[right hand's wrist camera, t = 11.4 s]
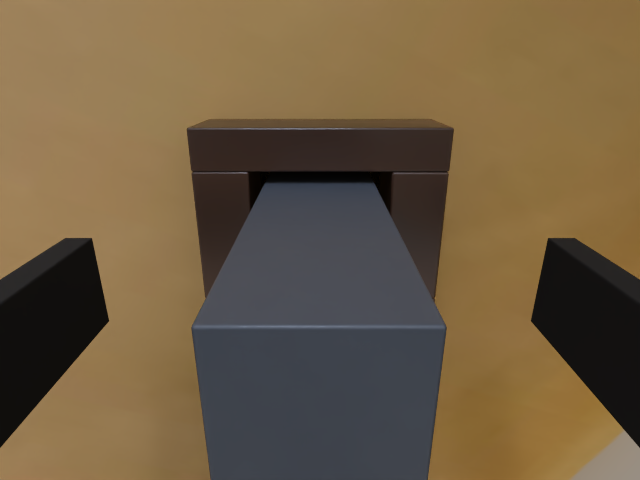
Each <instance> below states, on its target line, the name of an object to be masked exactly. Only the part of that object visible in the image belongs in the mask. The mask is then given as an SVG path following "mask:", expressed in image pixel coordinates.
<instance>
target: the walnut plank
mask: <svg viewBox="0 0 640 480" xmlns="http://www.w3.org/2000/svg"><path fill="white" fill-rule="evenodd" d="M453 132H454V129H453V128H452V127H449V126H447V125H444V124H442V123H439V122H437V121H434V120H432V119H209V120H206V121H204V122H201V123H199V124H196V125H194V126H191V127H189V128H187V136H188V145H189V154H190V163H191V170H192V171H193V172H192V181H193V190H194V199H195V208H196V217H197V226H198V235H199V244H200V254H201V263H202V272H203V281H204V290H205V297H207V296H208V294H209V292H210V290H211V288H212V286H213V284H214V282H215V280H216V278H217V276H218V274H219V272H220V270H221V268H222V266H223V264H224V262H225V260H226V258H227V256H228V254H229V252H230V250H231V248H232V246H233V245H234V243H235V241H236V239H237V237H238V235H239V233H240V231H241V229H242V227H243V225H244V223H245V221H246V219H247V217H248V215H249V213H250V211H251V209H252V207H253V205H254V203H255V201H256V199H257V197H258V195H259V193H260V192H261V175H260V172H380V186H379V194H380V196H381V198H382V200H383V202H384V204H385V206H386V208H387V210H388V212H389V214H390V216H391V218H392V219H393V221H394V223H395V225H396V227H397V229H398V231H399V233H400V235H401V237H402V239H403V241H404V243H405V245H406V247H407V249H408V251H409V253H410V255H411V257H412V259H413V261H414V263H415V265H416V267H417V269H418V271H419V273H420V275H421V277H422V279H423V281H424V283H425V285H426V287H427V289H428V291H429V293H430V295H431V297H432V299H433V301H434V302H435V299H434V297H435V293H436V284H437V274H438V265H439V256H440V247H441V238H442V229H443V220H444V211H445V202H446V193H447V184H448V175H449V174H448V171H449V168H450V159H451V150H452V141H453Z"/></svg>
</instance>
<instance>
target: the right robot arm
mask: <svg viewBox="0 0 640 480" xmlns="http://www.w3.org/2000/svg"><path fill="white" fill-rule="evenodd" d="M108 322H109V318H108V314H107V309H106V304H105V299H104V294H103V290H102V285H101V280H100V275H99V270H98V265H97V261H96V256H95V251H94V246H93V241H92V238H65V239H63V240H62V241H60V242H59V243H57V244H55V245H54V246H52V247H51V248H49V249H48V250H46V251H44V252H43V253H41V254H40V255H38V256H37V257H35V258H33V259H32V260H30V261H29V262H27V263H26V264H24V265H23V266H21V267H19V268H18V269H16V270H15V271H13V272H12V273H10V274H8V275H7V276H5V277H4V278H2V279H1V280H0V447H1V446H2V445H3V444H4V443H5V442H6V440H7V439H8V438H9V437H10V436H11V435H12V433H13V432H14V431H15V430H16V429H17V428H18V426H19V425H20V424H21V423H22V422H23V421H24V419H25V418H26V417H27V416H28V415H29V414H30V412H31V411H32V410H33V409H34V408H35V407H36V405H37V404H38V403H39V402H40V401H41V400H42V398H43V397H44V396H45V395H46V394H47V393H48V391H49V390H50V389H51V388H52V387H53V386H54V384H55V383H56V382H57V381H58V380H59V379H60V378H61V376H62V375H63V374H64V373H65V372H66V371H67V369H68V368H69V367H70V366H71V365H72V364H73V362H74V361H75V360H76V359H77V358H78V357H79V355H80V354H81V353H82V352H83V351H84V350H85V348H86V347H87V346H88V345H89V344H90V343H91V341H92V340H93V339H94V338H95V337H96V336H97V334H98V333H99V332H100V331H101V330H102V329H103V327H104V326H105V325H106V324H107V323H108ZM531 322H532V323H533V324H534V325H535V326H536V327H537V329H538V330H539V331H540V332H541V333H542V334H543V336H544V337H545V338H546V339H547V340H548V341H549V343H550V344H551V345H552V346H553V347H554V348H555V350H556V351H557V352H558V353H559V354H560V355H561V357H562V358H563V359H564V360H565V361H566V362H567V364H568V365H569V366H570V367H571V368H572V369H573V371H574V372H575V373H576V374H577V375H578V376H579V378H580V379H581V380H582V381H583V382H584V383H585V385H586V386H587V387H588V388H589V389H590V390H591V391H592V393H593V394H594V395H595V396H596V397H597V398H598V400H599V401H600V402H601V403H602V404H603V405H604V407H605V408H606V409H607V410H608V411H609V412H610V414H611V415H612V416H613V417H614V418H615V419H616V421H617V422H618V423H619V424H620V425H621V426H622V428H623V429H624V430H625V431H626V432H627V433H628V435H629V436H630V437H631V438H632V439H633V440H634V442H635V443H636V444H637V445H638V446H639V447H640V280H639V279H638V278H636V277H635V276H633V275H632V274H630V273H628V272H627V271H625V270H624V269H622V268H621V267H619V266H617V265H616V264H614V263H613V262H611V261H610V260H608V259H607V258H605V257H603V256H602V255H600V254H599V253H597V252H596V251H594V250H592V249H591V248H589V247H588V246H586V245H585V244H583V243H581V242H580V241H578V240H577V239H575V238H548V241H547V246H546V251H545V256H544V261H543V265H542V270H541V275H540V280H539V285H538V289H537V294H536V299H535V304H534V309H533V314H532V318H531Z"/></svg>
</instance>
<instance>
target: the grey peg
mask: <svg viewBox="0 0 640 480" xmlns="http://www.w3.org/2000/svg"><path fill="white" fill-rule="evenodd" d="M192 336H193V344H194V351H195V359H196V367H197V375H198V383H199V391H200V399H201V406H202V414H203V422H204V430H205V438H206V446H207V454H208V461H209V469H210V477H211V480H428V472H429V464H430V456H431V448H432V440H433V432H434V424H435V416H436V408H437V400H438V392H439V384H440V376H441V368H442V360H443V352H444V344H445V336H446V325H445V323H444V321H443V319H442V317H441V315H440V313H439V311H438V309H437V307H436V305H435V303H434V301H433V299H432V297H431V295H430V293H429V291H428V289H427V287H426V285H425V283H424V281H423V279H422V277H421V275H420V273H419V271H418V269H417V267H416V265H415V263H414V261H413V259H412V257H411V255H410V253H409V251H408V249H407V247H406V245H405V243H404V241H403V239H402V237H401V235H400V233H399V231H398V229H397V227H396V225H395V223H394V221H393V219H392V218H391V216H390V214H389V212H388V210H387V208H386V206H385V204H384V202H383V200H382V198H381V196H380V194H379V192H378V190H377V188H376V186H375V184H374V182H373V180H372V178H371V176H370V174H369V172H270V174H269V176H268V178H267V180H266V182H265V184H264V186H263V188H262V190H261V192H260V193H259V195H258V197H257V199H256V201H255V203H254V205H253V207H252V209H251V211H250V213H249V215H248V217H247V219H246V221H245V223H244V225H243V227H242V229H241V231H240V233H239V235H238V237H237V239H236V241H235V243H234V245H233V246H232V248H231V250H230V252H229V254H228V256H227V258H226V260H225V262H224V264H223V266H222V268H221V270H220V272H219V274H218V276H217V278H216V280H215V282H214V284H213V286H212V288H211V290H210V292H209V294H208V296H207V297H206V299H205V301H204V303H203V305H202V307H201V309H200V311H199V313H198V315H197V317H196V319H195V321H194V323H193V325H192Z"/></svg>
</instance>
